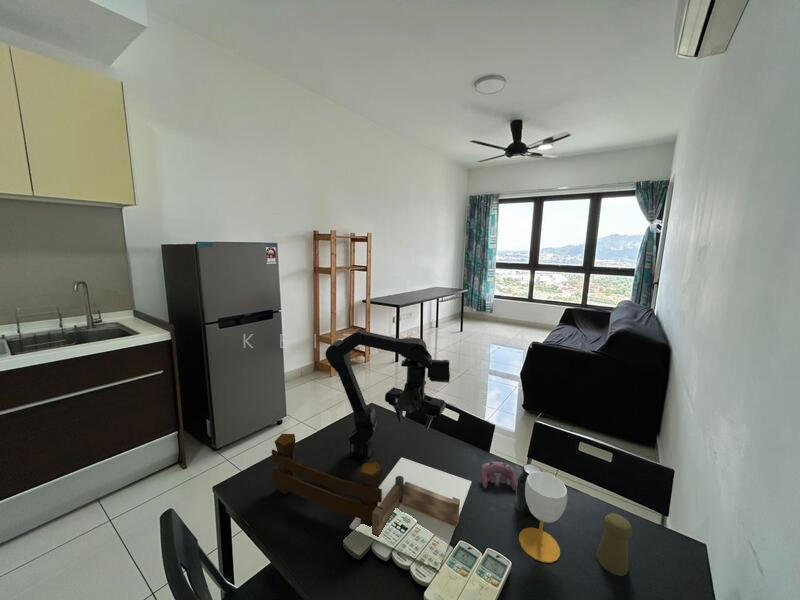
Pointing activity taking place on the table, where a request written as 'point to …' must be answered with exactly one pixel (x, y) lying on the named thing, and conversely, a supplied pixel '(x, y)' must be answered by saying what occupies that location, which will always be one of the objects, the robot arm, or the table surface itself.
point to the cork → (615, 545)
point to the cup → (543, 515)
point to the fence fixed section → (387, 506)
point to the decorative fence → (327, 483)
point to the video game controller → (498, 467)
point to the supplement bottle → (520, 496)
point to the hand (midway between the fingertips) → (413, 425)
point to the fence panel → (431, 503)
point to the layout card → (430, 481)
